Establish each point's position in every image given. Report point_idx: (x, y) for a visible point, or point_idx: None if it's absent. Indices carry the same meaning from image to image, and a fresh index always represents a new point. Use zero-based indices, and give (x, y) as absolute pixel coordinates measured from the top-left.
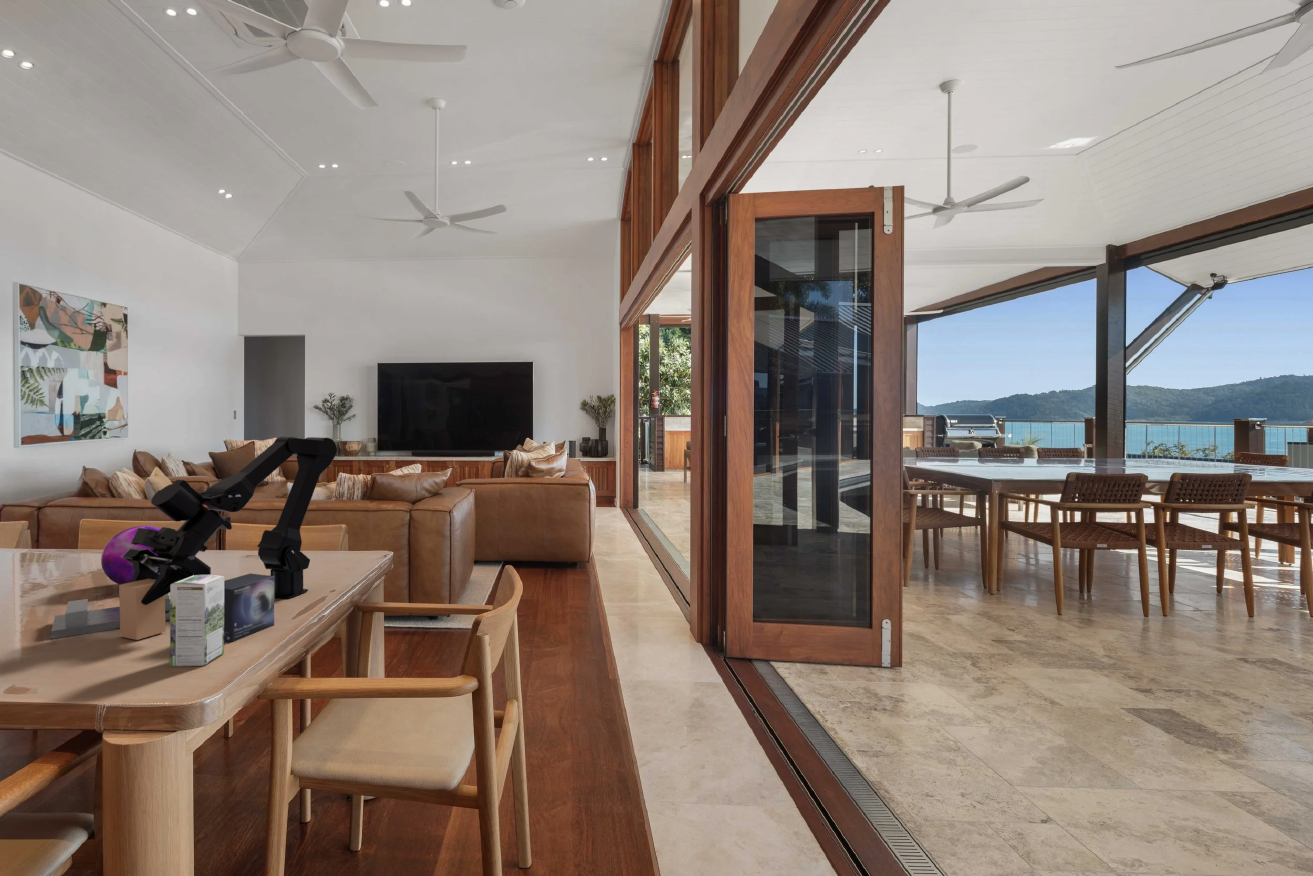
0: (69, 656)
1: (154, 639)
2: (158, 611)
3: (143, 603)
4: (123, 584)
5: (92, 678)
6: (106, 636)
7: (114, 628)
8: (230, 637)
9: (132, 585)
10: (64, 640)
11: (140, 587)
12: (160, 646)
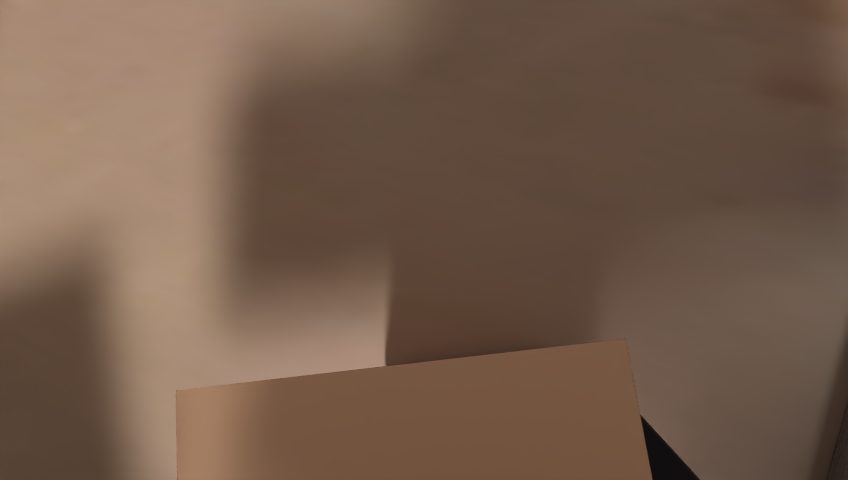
0: (437, 74)
1: None
2: None
3: None
4: (582, 389)
5: (42, 48)
6: (678, 316)
7: (846, 423)
8: None
9: (366, 436)
10: (816, 143)
11: (183, 462)
12: None
